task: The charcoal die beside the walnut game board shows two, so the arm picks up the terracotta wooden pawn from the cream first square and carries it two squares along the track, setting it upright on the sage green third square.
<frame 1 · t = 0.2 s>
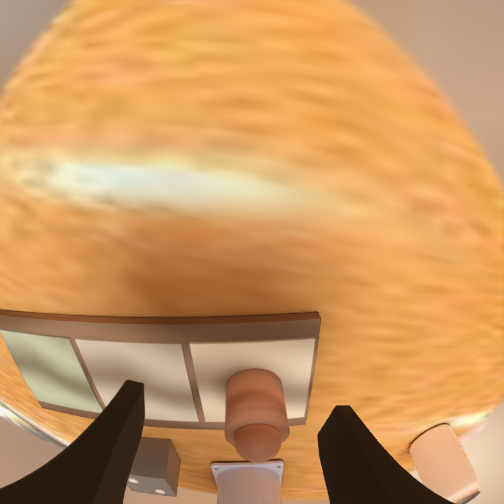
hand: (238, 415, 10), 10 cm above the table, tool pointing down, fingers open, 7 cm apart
die: (153, 448, 27), on the table
can: (428, 436, 30), on the table
game board: (141, 377, 22), on the table
pawn: (254, 387, 21), point 1 cm above the table, touching game board
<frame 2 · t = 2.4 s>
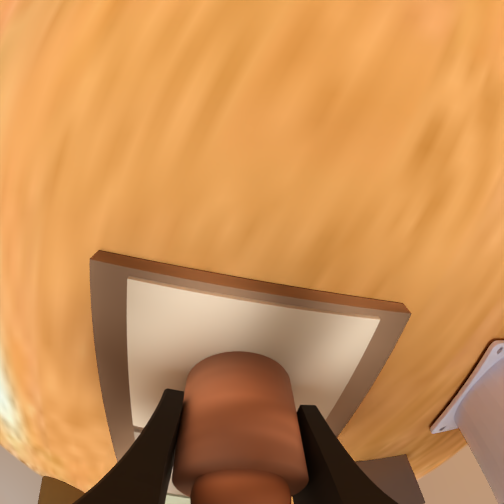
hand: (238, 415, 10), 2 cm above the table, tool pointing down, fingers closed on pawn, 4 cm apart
die: (364, 473, 18), on the table
game board: (211, 464, 16), on the table
cork: (67, 489, 20), on the table
pawn: (238, 389, 11), point 1 cm above the table, touching game board, gripper
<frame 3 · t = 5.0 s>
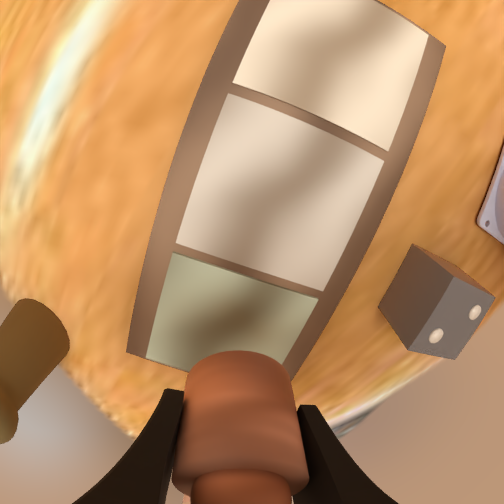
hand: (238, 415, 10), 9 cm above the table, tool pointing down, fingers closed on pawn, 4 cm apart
die: (419, 285, 20), on the table
game board: (279, 195, 17), on the table
cork: (40, 329, 20), on the table
pawn: (238, 388, 11), point 8 cm above the table, touching gripper
when the fingers open (4 cm above the table, at t = 7.8 s): pawn drops 1 cm, resting on game board.
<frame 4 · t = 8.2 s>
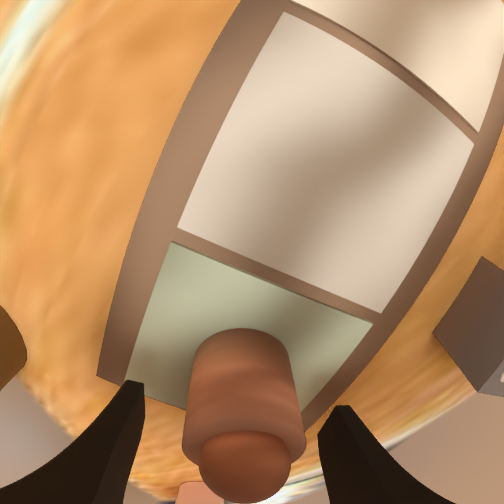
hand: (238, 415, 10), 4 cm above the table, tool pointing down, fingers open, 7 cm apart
die: (477, 307, 14), on the table
game board: (339, 170, 11), on the table
pawn: (241, 365, 13), point 1 cm above the table, touching game board
smoothie: (200, 487, 20), on the table
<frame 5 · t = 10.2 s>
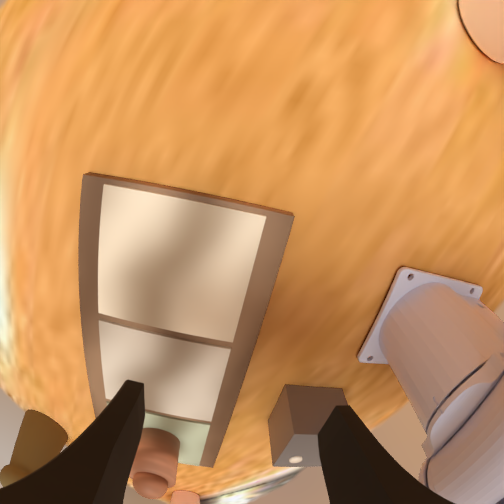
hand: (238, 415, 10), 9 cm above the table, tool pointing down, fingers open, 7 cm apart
die: (303, 405, 23), on the table
can: (484, 25, 12), on the table
game board: (161, 370, 21), on the table
cork: (46, 425, 25), on the table
pawn: (157, 439, 23), point 1 cm above the table, touching game board
smoothie: (186, 493, 31), on the table
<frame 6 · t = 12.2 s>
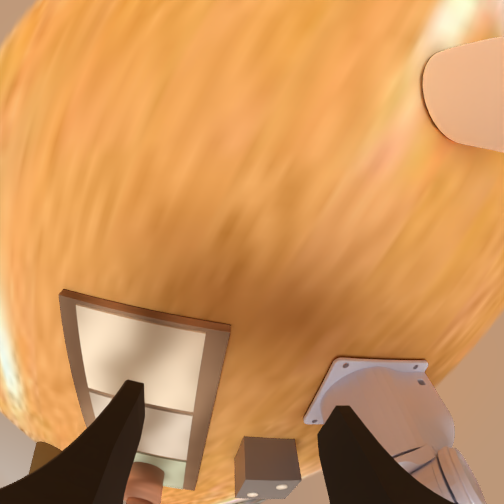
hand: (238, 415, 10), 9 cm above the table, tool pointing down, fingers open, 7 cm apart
die: (263, 449, 26), on the table
can: (454, 96, 15), on the table
game board: (142, 423, 24), on the table
cork: (55, 453, 28), on the table
pawn: (146, 470, 26), point 1 cm above the table, touching game board
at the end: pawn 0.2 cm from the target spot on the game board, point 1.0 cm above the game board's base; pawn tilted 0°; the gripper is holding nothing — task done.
